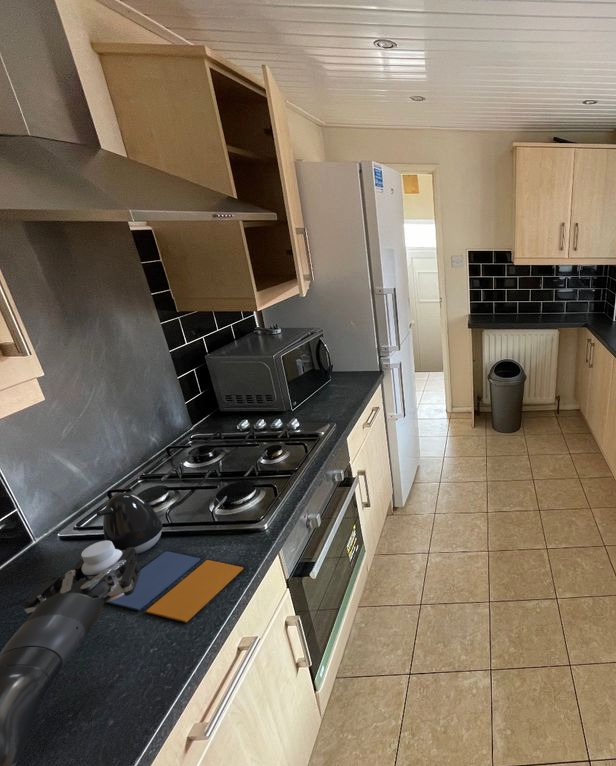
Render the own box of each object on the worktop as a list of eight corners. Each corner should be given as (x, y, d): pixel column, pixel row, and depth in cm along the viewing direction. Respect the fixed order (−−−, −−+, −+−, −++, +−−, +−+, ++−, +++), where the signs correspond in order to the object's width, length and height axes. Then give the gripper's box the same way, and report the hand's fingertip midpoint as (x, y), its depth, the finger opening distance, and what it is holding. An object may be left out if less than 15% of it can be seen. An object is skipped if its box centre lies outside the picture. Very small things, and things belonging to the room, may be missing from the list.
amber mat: (186, 622, 82) (185, 621, 82) (146, 612, 84) (145, 610, 84) (243, 568, 95) (243, 567, 95) (207, 561, 97) (207, 559, 97)
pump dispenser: (99, 561, 97) (74, 508, 91) (141, 530, 106) (121, 480, 101) (138, 565, 96) (115, 511, 90) (177, 533, 105) (159, 483, 100)
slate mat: (138, 610, 85) (138, 609, 84) (101, 601, 87) (100, 599, 87) (200, 559, 97) (200, 558, 97) (166, 552, 99) (165, 551, 99)
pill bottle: (104, 583, 77) (85, 541, 73) (140, 575, 79) (123, 534, 75) (88, 607, 72) (67, 563, 69) (127, 597, 74) (109, 555, 70)
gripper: (102, 604, 61) (153, 529, 76) (-28, 632, 57) (53, 547, 72) (119, 640, 64) (165, 561, 79) (-3, 669, 60) (70, 580, 75)
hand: (111, 554), depth 75 cm, fingers closed on pill bottle, 5 cm apart
